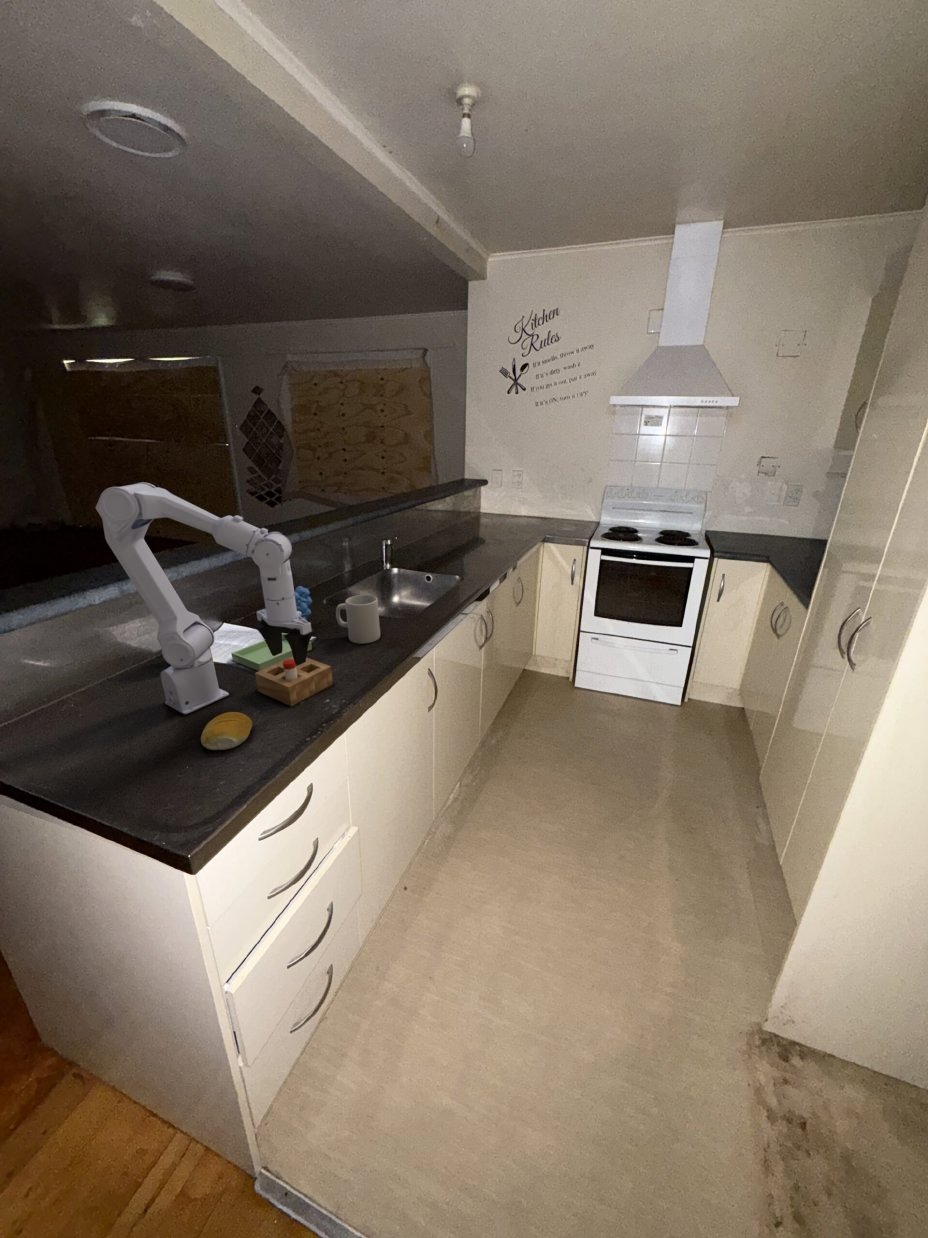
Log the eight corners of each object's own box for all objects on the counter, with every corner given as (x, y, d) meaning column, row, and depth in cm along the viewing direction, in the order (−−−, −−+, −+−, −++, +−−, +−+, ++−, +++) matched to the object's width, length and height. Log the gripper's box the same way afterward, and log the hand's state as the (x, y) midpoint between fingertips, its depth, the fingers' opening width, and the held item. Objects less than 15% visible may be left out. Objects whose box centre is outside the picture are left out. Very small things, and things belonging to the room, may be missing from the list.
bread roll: (255, 721, 94) (252, 703, 93) (247, 748, 86) (243, 729, 85) (209, 726, 92) (205, 708, 91) (196, 754, 84) (191, 735, 83)
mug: (385, 632, 136) (382, 595, 132) (373, 645, 128) (370, 605, 124) (345, 629, 138) (341, 593, 134) (331, 641, 130) (327, 602, 126)
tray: (260, 671, 114) (259, 664, 113) (232, 660, 119) (231, 652, 119) (312, 649, 125) (311, 642, 125) (284, 639, 131) (283, 633, 131)
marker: (293, 699, 102) (287, 665, 99) (285, 696, 103) (280, 662, 100) (302, 694, 104) (298, 661, 101) (295, 691, 105) (290, 658, 102)
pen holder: (291, 706, 99) (288, 687, 98) (257, 691, 105) (254, 673, 103) (333, 684, 108) (331, 666, 106) (300, 671, 114) (297, 654, 112)
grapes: (299, 618, 146) (293, 580, 142) (319, 620, 145) (315, 581, 140) (277, 633, 135) (271, 592, 131) (299, 635, 134) (293, 594, 130)
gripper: (320, 596, 95) (327, 659, 99) (273, 585, 102) (282, 644, 107) (290, 607, 89) (299, 673, 94) (243, 593, 97) (254, 655, 102)
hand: (288, 658), depth 100 cm, fingers open, 7 cm apart
